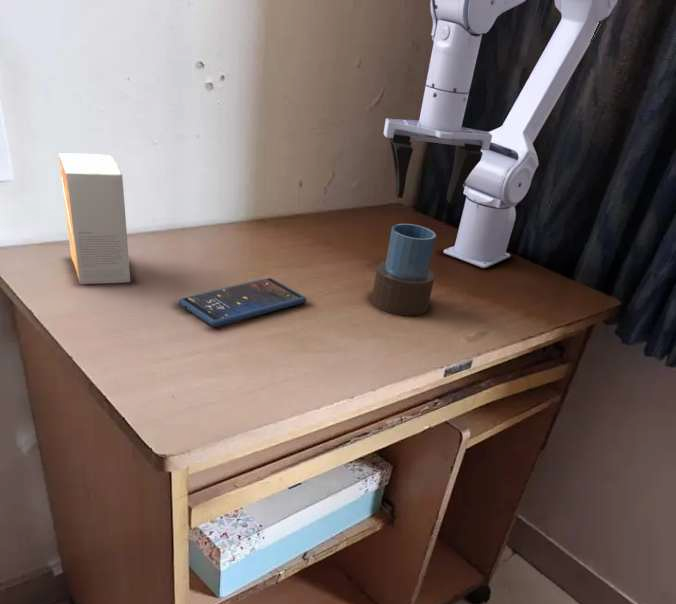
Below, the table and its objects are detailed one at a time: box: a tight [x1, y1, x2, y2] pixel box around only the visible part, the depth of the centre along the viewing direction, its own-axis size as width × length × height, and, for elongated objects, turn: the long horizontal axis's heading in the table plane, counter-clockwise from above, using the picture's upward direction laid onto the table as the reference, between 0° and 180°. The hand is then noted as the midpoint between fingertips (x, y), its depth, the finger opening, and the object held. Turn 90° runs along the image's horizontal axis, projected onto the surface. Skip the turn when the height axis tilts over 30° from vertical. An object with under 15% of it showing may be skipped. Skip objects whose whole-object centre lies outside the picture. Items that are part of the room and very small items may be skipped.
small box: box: [58, 153, 131, 285], centre depth 82 cm, size 8×6×13 cm
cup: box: [385, 223, 437, 280], centre depth 86 cm, size 6×6×5 cm
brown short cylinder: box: [371, 260, 435, 317], centre depth 90 cm, size 8×8×4 cm
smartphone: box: [178, 277, 307, 328], centre depth 84 cm, size 8×1×15 cm
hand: (424, 198), depth 95 cm, fingers open, 7 cm apart
